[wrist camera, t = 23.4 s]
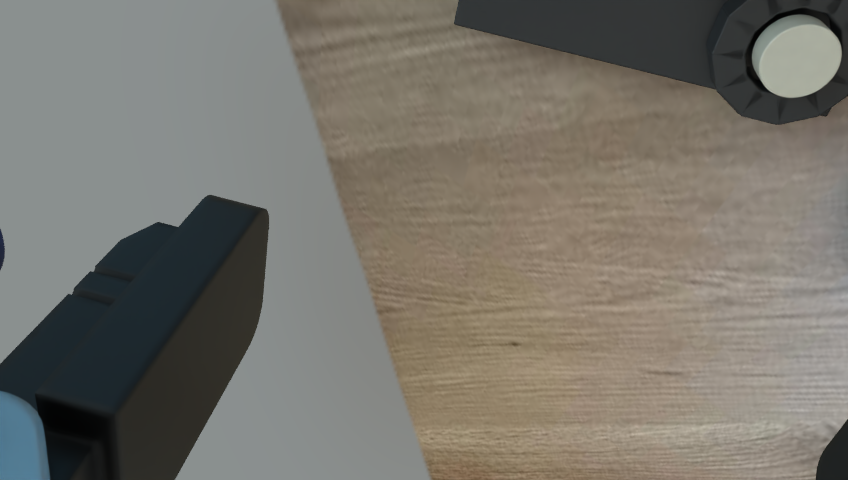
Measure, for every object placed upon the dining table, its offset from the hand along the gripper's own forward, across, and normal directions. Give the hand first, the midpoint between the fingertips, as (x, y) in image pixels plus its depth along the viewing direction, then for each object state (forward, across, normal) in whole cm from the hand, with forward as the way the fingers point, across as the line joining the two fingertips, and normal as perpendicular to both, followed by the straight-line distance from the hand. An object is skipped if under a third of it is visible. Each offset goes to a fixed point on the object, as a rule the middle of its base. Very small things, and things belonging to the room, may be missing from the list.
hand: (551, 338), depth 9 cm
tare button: (+21, -9, +1) cm, 23 cm away
